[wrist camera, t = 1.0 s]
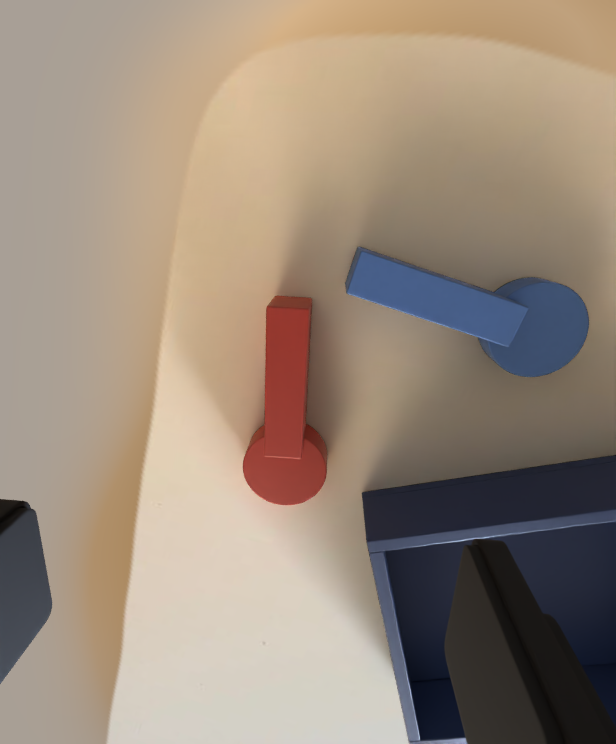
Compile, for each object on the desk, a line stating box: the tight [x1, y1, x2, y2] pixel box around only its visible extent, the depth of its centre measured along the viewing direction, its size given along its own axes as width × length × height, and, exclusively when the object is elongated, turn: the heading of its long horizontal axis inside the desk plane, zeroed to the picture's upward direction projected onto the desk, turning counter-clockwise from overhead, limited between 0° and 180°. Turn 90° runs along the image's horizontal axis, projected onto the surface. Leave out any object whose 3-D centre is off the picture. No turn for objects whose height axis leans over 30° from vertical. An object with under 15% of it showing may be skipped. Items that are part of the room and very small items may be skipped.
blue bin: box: [362, 455, 616, 744], centre depth 21 cm, size 13×13×4 cm
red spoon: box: [243, 296, 327, 505], centre depth 19 cm, size 10×4×2 cm, turn 177°
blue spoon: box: [345, 247, 589, 377], centre depth 17 cm, size 10×4×2 cm, turn 72°
